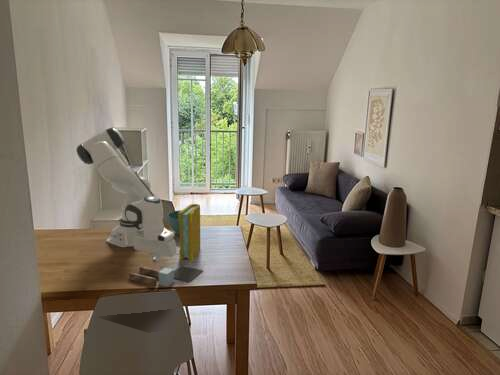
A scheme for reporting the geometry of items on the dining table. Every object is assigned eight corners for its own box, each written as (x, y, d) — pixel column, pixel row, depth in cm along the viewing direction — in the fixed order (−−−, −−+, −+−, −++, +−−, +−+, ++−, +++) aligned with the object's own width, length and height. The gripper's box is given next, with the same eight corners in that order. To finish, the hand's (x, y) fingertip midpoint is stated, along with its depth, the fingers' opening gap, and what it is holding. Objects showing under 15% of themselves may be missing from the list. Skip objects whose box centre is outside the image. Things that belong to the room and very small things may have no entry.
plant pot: (169, 240, 216) (168, 219, 213) (167, 229, 233) (166, 210, 230) (200, 237, 221) (200, 217, 218) (196, 227, 238) (196, 209, 235)
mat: (167, 277, 172) (167, 276, 171) (181, 266, 182) (181, 265, 182) (189, 282, 167) (189, 281, 167) (203, 271, 178) (203, 270, 178)
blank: (158, 284, 165) (158, 272, 163) (165, 279, 169) (165, 267, 168) (167, 286, 163) (167, 274, 162) (173, 281, 167) (173, 269, 166)
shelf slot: (129, 279, 169) (129, 273, 168) (140, 272, 176) (140, 266, 175) (155, 285, 163) (155, 279, 163) (165, 277, 171) (165, 271, 170)
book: (191, 260, 190) (191, 213, 184) (179, 259, 191) (178, 212, 185) (202, 248, 206) (202, 204, 200) (191, 246, 207) (190, 203, 201)
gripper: (129, 232, 165) (131, 260, 168) (169, 238, 158) (170, 268, 161) (138, 227, 170) (140, 255, 174) (177, 233, 163) (178, 262, 167)
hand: (155, 262), depth 167 cm, fingers closed
